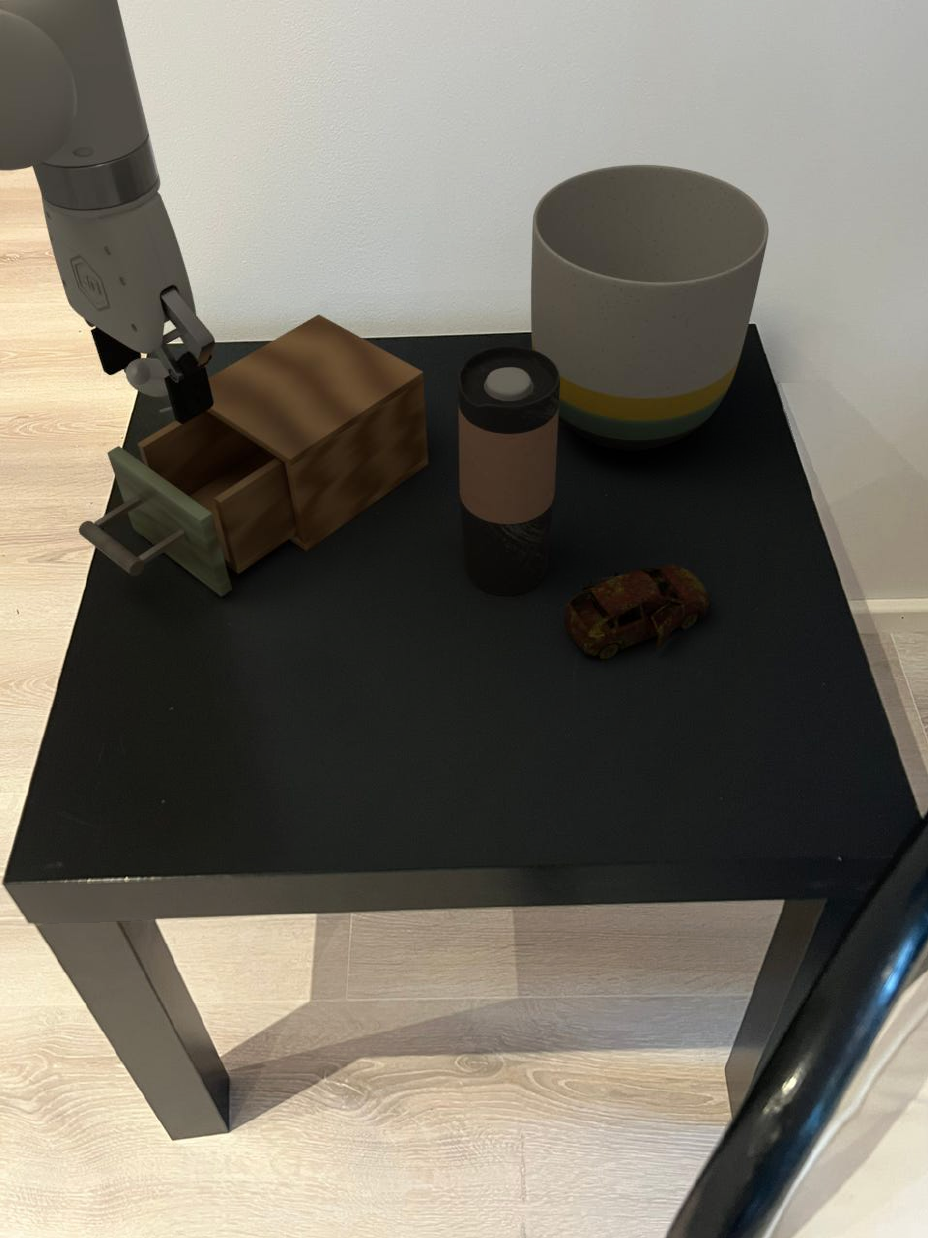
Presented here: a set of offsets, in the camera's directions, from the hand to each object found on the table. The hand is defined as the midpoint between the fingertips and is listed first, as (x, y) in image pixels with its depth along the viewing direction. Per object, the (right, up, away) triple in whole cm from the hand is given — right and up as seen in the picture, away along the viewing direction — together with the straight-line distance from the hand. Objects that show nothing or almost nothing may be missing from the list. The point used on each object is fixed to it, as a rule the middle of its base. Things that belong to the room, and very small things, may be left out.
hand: (158, 388), depth 83 cm
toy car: (+38, -18, +7) cm, 42 cm away
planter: (+39, +2, +24) cm, 46 cm away
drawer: (+1, -10, +13) cm, 17 cm away
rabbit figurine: (0, -1, +1) cm, 2 cm away
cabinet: (+10, -4, +20) cm, 22 cm away
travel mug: (+27, -13, +12) cm, 32 cm away
